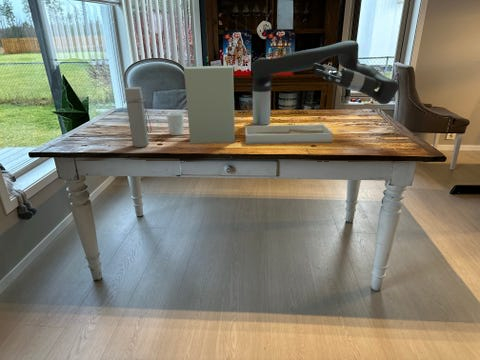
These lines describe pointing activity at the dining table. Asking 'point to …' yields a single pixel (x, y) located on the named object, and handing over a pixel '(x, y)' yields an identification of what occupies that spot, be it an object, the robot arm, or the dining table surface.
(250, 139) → the tray
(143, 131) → the water bottle
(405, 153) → the dining table surface
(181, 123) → the white cup
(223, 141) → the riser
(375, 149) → the dining table surface
